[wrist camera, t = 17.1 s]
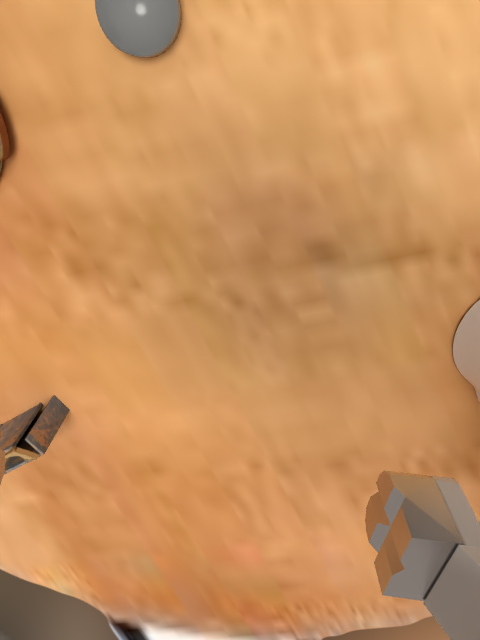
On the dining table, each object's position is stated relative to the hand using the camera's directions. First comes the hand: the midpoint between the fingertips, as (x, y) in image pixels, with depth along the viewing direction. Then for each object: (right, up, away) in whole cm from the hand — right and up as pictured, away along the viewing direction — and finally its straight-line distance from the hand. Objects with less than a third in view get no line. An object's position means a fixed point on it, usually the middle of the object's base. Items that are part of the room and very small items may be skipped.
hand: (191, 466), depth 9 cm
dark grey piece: (-25, -9, +45) cm, 53 cm away
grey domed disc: (-6, +27, +25) cm, 37 cm away
